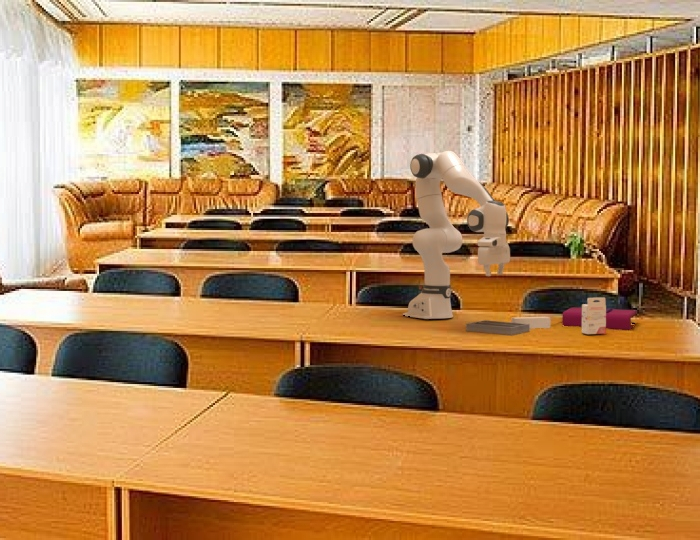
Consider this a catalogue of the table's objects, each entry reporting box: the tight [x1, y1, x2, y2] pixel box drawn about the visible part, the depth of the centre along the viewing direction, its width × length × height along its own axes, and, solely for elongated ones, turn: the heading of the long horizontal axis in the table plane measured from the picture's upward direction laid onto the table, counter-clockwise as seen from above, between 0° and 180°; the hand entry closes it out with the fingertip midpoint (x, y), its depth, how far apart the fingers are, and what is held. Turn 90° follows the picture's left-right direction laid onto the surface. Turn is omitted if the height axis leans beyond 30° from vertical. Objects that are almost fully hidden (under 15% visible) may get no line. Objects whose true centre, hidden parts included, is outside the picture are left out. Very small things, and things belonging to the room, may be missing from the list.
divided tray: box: [465, 319, 530, 336], centre depth 434 cm, size 21×15×3 cm
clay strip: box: [510, 316, 552, 330], centre depth 443 cm, size 16×4×5 cm, turn 105°
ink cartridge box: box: [581, 297, 607, 335], centre depth 429 cm, size 9×5×15 cm, turn 105°
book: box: [561, 306, 638, 331], centre depth 452 cm, size 21×28×8 cm
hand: (494, 275), depth 430 cm, fingers open, 8 cm apart
